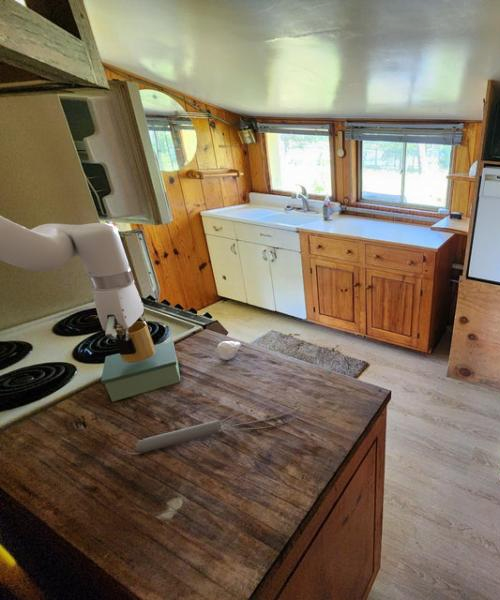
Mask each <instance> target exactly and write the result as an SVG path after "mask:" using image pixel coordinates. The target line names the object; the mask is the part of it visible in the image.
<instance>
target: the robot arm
mask: <svg viewBox="0 0 500 600" xmlns="http://www.w3.org/2000/svg"><path fill="white" fill-rule="evenodd" d="M75 257H79V258H80V261H81V263H82V266H83V269H84V271H85V273H86V276H87V279H88V282H89V284H90V287H91V289H92V290H93V291H92V295H93V302H94V306H95V309H96V310H95V311H96V313H97V316H98V319H99V323H100V325H101V328H102V330H103V331H104V332H105V333H104V334H105V337H106V338H108V339H110V340H112V342H113V343H115V345H116V348H117V351H118V354H119V353H120V355H127V354H135V353H136V349H135V346H134V343H133V341H132V338H130V339H129V327H130V326H132V325H133V324H134V323H135V322H136V321H142V322H145V323H146V317H145V316H144V315H145V310H144V302H143V301H142V298H141V296H140V294H139V293H140V292H139V291H138V289H137V287H136V284H135V278H134V276H133V273H132V269H131V266H130V263H129V261H128V257H127V255H126V251H125V248H124V245H123V242H122V239H121V236H120V233H119V231H118V228H117V227H116V226H115V225H113V224H111V223H106V222H94V223H84V224H69V223H67V224H66V223H44V224H39V225H37V226H35V227H33V228H31V229H30V228H27V227H25V226H22V225H20V224H18V223H16V222H14V221H12V220H10V219H8V218H6V217H4V216H2V215H0V261H2V262H3V263H6V264H9V265H12V266H15V267H18V268H20V269H24V270H28V271H33V272H51V271H54V270H56V269H59V268H60V267H62V266H63V265H64V264H66V262H67V261H68V260H71V259H72V258H75ZM119 325H121V326H123V328H117V326H119ZM118 330H123V333H124V335H122V334H118Z"/></svg>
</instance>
